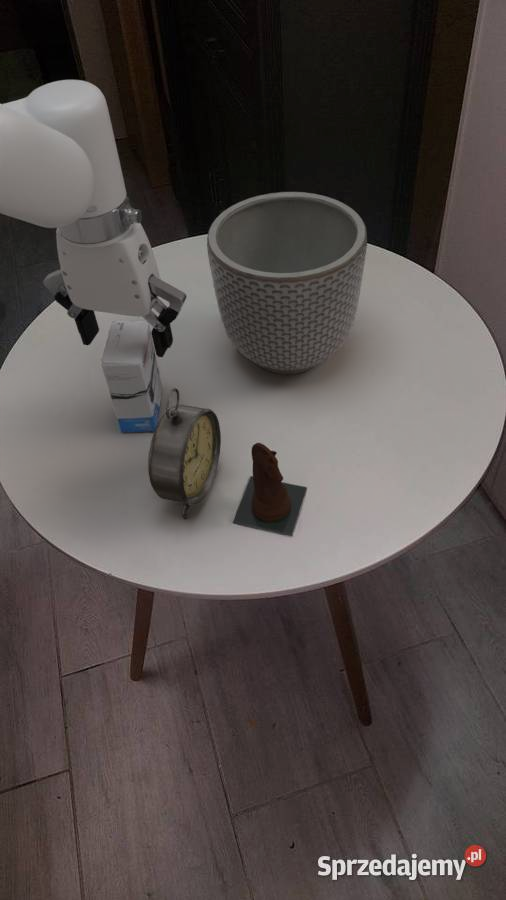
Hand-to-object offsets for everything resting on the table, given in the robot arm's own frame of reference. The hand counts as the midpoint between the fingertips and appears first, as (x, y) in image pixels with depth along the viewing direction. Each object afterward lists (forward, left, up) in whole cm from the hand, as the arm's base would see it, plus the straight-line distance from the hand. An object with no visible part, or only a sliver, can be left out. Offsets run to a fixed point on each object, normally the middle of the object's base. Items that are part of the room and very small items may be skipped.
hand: (127, 343), depth 83 cm
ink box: (0, 0, -11) cm, 11 cm away
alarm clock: (+11, -11, -11) cm, 19 cm away
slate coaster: (+21, -11, -11) cm, 26 cm away
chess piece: (+21, -11, -11) cm, 26 cm away
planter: (+16, +16, -11) cm, 25 cm away
